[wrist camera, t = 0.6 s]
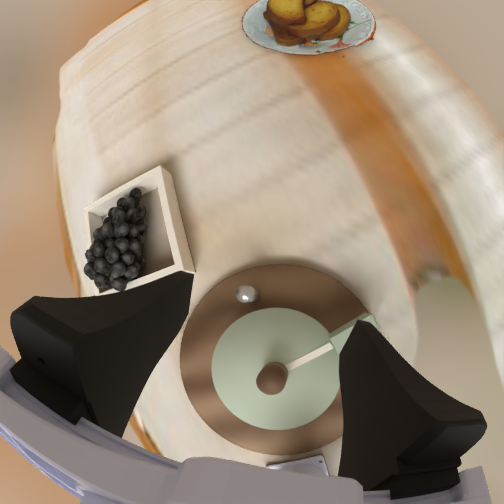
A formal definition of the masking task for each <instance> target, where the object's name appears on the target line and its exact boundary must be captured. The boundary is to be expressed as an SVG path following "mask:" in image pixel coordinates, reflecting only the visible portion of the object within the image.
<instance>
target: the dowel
mask: <svg viewBox="0 0 504 504" xmlns="http://www.w3.org/2000/svg"><path fill="white" fill-rule="evenodd" d="M236 297H237V299H238V300H239V301H240V302H243V303H246V302H255V301H257V300H258V299H259V297H260V291H259V289H258V288H256V287H253V286H247V285H242V286H240V287H239V288H238V289H237V290H236Z"/></svg>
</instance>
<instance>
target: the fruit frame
mask: <svg viewBox="0 0 504 504" xmlns="http://www.w3.org/2000/svg"><path fill="white" fill-rule="evenodd" d="M133 188H138V189H140V190H141V191H142V195H144V194H146V193H148V192H150V191H152V190H154V189H156V188H158V191H159V196H160V201H161V206H162V211H163V216H164V220H165V225H166V230H167V234H168V238H169V243H170V247H171V251H172V255H173V259H174V263H175V265H172V266H170V267H167V268H164V269H162V270H159V271H157V272H154V273H151V274H149V275H146V276H144V277H141V278H138V279H136V280H133V281H131V282H128V284H127V287H126V289H125V290H128V289H131V288H134V287H137V286H140V285H143V284H146V283H149V282H151V281H154V280H157V279H159V278H162V277H164V276H167V275H169V274H172V273H174V272H177V271H180V270H181V271H185V272H188V273H191V274H193V273H195V268H194V265H193V261H192V257H191V253H190V250H189V246H188V242H187V238H186V234H185V230H184V226H183V222H182V218H181V214H180V209H179V205H178V201H177V196H176V192H175V188H174V183H173V178H172V175H171V174H170V173H169V172H168V171H167V170H165V169H164V168H163V167H162V166H161V165H160V166H158V167H156V168H154V169H152V170H150V171H148V172H146V173H144V174H142V175H140V176H138V177H137V178H135V179H133V180H131V181H129V182H127V183H126V184H124V185H122V186H120V187H119V188H117V189H115V190H113V191H112V192H110V193H108V194H106V195H105V196H103V197H101V198H100V199H98V200H96V201H95V202H93V203H92V204H90V205H88V206H87V207H85V208H84V221H85V232H86V241H87V250H88V249H90V246H91V245H92V244H93V243H94V240H95V239H94V238H93V232H94V231H95V229H97V228H100V227H101V226H102V225H103V222H102V217H103V216H105V215H107V214H108V211H109V209H110V208H112V207H117V201H118V200H119V198H123V197H125V198H126V197H129V193H130V191H131V190H132V189H133ZM92 283H93V288H94V294H95V296H99V295H106V294H111V293H116V292H119V291H117V290H115V289H114V288H113V287H112V286H111V283H110V285H109V286H108V287H107V288H104V289H103V288H99V289H97V287H96V285H95V283H94V280H92Z"/></svg>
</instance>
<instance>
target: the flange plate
mask: <svg viewBox="0 0 504 504" xmlns="http://www.w3.org/2000/svg"><path fill="white" fill-rule="evenodd" d="M357 319H359V320H363V321H367V322H370V323H371V324H373V325H374V326H375V327H376V328H377V330H378V331H379V332H380V330H379V328H378V326H377V324H376V322H375V320H374V318H373V316H372V314H368V313H363V314H361V315H360V316H358V317H356V318H355V319H353V320H351V321H349V322H348V323H346V324H344V325H343V326H341V327H339V328H337V329H335V330H334V331H332V332H330V333H329V332H328V331H327V329H326V328H325V327H324V326H323V325H322V324H320V323H319V322H318V321H317V320H315V319H314V318H312V317H311V316H309V315H307V314H305V313H302V312H299V311H297V310H293V309H288V308H267V309H261V310H258V311H254V312H251V313H249V314H247V315H244V316H243V317H241V318H239V319H238V320H236V321H235V322H234V323H233V324H231V325H230V326H229V327H228V328H227V329H226V330H225V332H224V333H223V334H222V336H221V337H220V339H219V341H218V343H217V344H216V347H215V350H214V353H213V357H212V366H211V368H212V378H213V383H214V386H215V389H216V391H217V394H218V396H219V397H220V399H221V401H222V402H223V404H224V405H225V406H226V407H227V408H228V409H229V410H230V411H231V412H232V413H233V414H234V415H235V416H237V417H238V418H239V419H241V420H243V421H244V422H246V423H248V424H251V425H253V426H256V427H259V428H263V429H269V430H286V429H292V428H296V427H299V426H302V425H305V424H307V423H309V422H311V421H313V420H314V419H316V418H317V417H319V416H320V415H321V414H322V413H323V412H324V411H325V410H326V409H327V408H328V407H329V406H330V404H331V403H332V401H333V400H334V398H335V396H336V394H337V392H338V390H339V387H340V381H339V354H340V352H341V350H342V348H343V346H344V344H345V343H346V341H347V339H348V337H349V335H350V333H351V331H352V329H353V327H354V325H355V323H356V321H357ZM380 333H381V332H380ZM270 362H279V363H282V364H283V365H284V366H285V367H286V368H287V370H288V378H287V381H286V384H285V387H284V389H283V390H282V391H281V392H280V393H278V394H276V395H267V394H264V393H263V392H261V391H260V390H259V389H258V387H257V384H256V378H257V376H258V374H259V373H260V371H261V370H262V368H263V367H264V366H265V365H266V364H267V363H270Z"/></svg>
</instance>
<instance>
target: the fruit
mask: <svg viewBox="0 0 504 504" xmlns="http://www.w3.org/2000/svg"><path fill="white" fill-rule="evenodd" d="M141 197H142V191H141V190H140V189H138V188H133V189H132V190H131V191H130V193H129V197H126V198H125V197H123V198H119V200H118V201H117V207H112V208H110V209H109V211H108V216H109V217H107V218H105V219H104V222H103V225H102V226H101V227H100V228H97V229H95V231H94V232H93V238H94V239H95V240H94V243H93V244H92V245H91V246H90V249H88V250H87V251H86V253H85V256H86V259H87V262H88V263H87V264H86V265H85V267H84V272H85V274H86V275H87V276H88V277H89V278H90V279H91V280H94V283H95V285H96V287H97V289H99V288H103V289H104V288H107V287H108V286H109V285H110V283H111V286H112V287H113V288H114V289H115V290H117V291H119V292H120V291H124V290H125V289H126V287H127V284H128V282H131V281H133V280H134V278H135V277H136V276H137V275H138V272H139V269H140V268H142V267H143V266H144V265H145V259H144V257H143V256H142V253H141V249H142V248H141V246H142V245H143V243H144V236H143V235H142V234H140V233H142V232H145V231H146V230H147V226H148V225H147V222H146V221H145V220H144V214H145V212H146V208H145V206H144V205H142V204H140V203H139V201H140V199H141Z"/></svg>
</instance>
